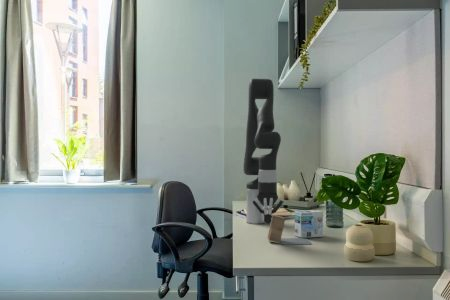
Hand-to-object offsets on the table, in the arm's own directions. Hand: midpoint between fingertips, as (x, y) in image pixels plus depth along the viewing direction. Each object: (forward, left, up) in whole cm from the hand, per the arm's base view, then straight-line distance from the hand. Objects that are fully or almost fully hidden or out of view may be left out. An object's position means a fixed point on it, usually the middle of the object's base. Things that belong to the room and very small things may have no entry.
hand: (267, 223), depth 163 cm
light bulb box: (-9, +20, -8) cm, 23 cm away
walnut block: (0, +3, -7) cm, 8 cm away
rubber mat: (0, +11, -8) cm, 13 cm away
